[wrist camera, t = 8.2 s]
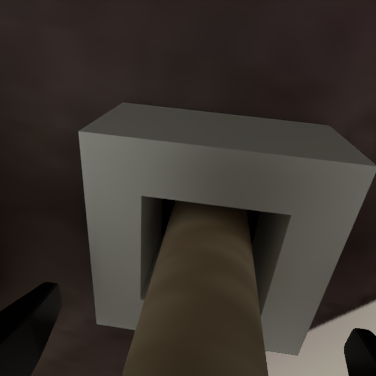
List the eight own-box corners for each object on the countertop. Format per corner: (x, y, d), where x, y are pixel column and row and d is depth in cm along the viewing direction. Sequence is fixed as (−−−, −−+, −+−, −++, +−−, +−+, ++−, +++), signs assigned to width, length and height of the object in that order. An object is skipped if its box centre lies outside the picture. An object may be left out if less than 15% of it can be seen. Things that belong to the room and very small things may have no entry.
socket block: (329, 125, 12) (378, 166, 8) (280, 279, 17) (297, 355, 13) (123, 102, 13) (78, 131, 9) (126, 257, 17) (96, 323, 13)
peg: (251, 174, 14) (287, 359, 6) (239, 233, 15) (254, 440, 8) (179, 165, 14) (119, 332, 6) (174, 224, 16) (122, 417, 8)
